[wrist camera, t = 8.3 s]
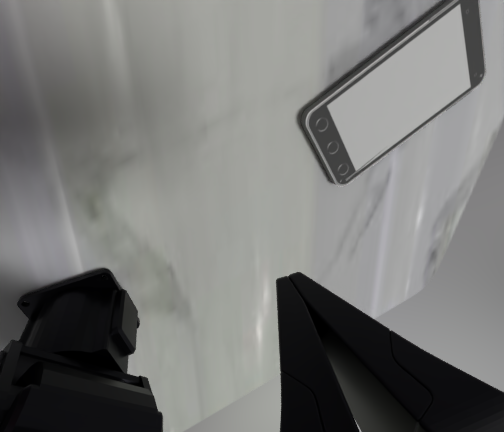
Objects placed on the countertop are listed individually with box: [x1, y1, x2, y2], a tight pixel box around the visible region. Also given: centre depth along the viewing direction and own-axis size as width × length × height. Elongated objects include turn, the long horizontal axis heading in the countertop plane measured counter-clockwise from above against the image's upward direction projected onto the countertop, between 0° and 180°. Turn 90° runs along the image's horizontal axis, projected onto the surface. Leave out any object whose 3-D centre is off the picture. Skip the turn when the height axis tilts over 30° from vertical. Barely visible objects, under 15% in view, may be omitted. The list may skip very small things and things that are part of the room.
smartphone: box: [301, 0, 486, 187], centre depth 22 cm, size 7×1×15 cm
